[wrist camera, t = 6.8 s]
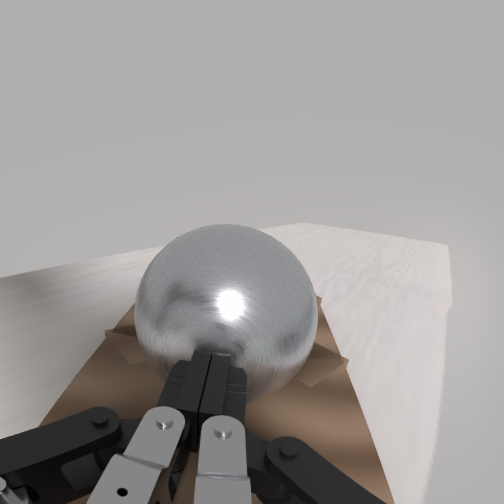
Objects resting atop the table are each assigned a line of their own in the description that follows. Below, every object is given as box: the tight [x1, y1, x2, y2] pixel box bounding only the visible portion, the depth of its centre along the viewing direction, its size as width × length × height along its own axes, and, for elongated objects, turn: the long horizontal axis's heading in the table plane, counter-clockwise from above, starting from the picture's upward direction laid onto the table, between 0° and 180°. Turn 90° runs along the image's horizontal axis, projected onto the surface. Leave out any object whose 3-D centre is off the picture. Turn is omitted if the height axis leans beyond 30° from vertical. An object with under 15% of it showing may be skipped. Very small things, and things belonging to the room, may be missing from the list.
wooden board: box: [39, 294, 394, 504], centre depth 21 cm, size 34×19×2 cm, turn 179°
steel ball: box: [134, 224, 318, 404], centre depth 17 cm, size 10×10×10 cm
